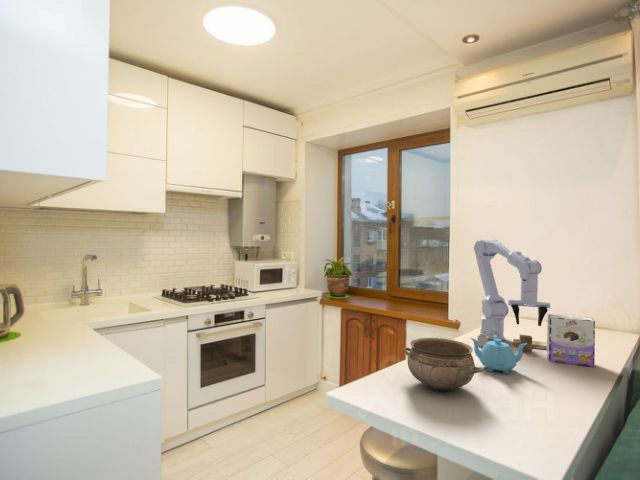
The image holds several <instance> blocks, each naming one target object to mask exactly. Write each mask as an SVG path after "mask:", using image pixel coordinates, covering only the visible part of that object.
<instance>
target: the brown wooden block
mask: <svg viewBox="0 0 640 480" xmlns="http://www.w3.org/2000/svg"><path fill="white" fill-rule="evenodd" d="M519 339H520V342H519V346H520V345H521V344H525V343H527V344H526V345H525V346H524V347H523V350H522V353H526V354H527V353H528V354H533V348H532V341H533V337H532V335H526V334H519Z"/></svg>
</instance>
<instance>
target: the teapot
mask: <svg viewBox="0 0 640 480" xmlns="http://www.w3.org/2000/svg"><path fill="white" fill-rule="evenodd" d="M470 339H471V340H472V341H473V345H474V346H473V348H474V349H473V351H474V354H475V356H476V357H477V358H478V359H479V362H480V363H481V364H482V365H483V366H484V367H485V368H487V369H486V371H487V372H490V373H492V372H494V370H495V371H502V373H503V374H506V375H510V374H511V373H510V371H511V370H514V368H515V367H516V366H517V363H518V362H520V361H521V360H522V358H523V352H522V350H523V347H524V346H525V345H526V344H527V343H525V344H521V345H520V346H519V347H517V348H518V349H517V352H516V353H514V351H513V350H512V347H511V346H510V345H509V344H508V343H506V342H503V340H500V339H497V336H496V335H495V334H494V335H493V339H492V340H491V341H490V340H489V342H487V343H486V344H485V345H484V347H481V348H482V349H481V350H480V348H479V346H478V342H477V338H476V339H475V338H473V337H470Z"/></svg>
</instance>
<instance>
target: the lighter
mask: <svg viewBox="0 0 640 480" xmlns="http://www.w3.org/2000/svg"><path fill="white" fill-rule="evenodd" d="M496 332H497V330H495V329H492V331H491V333H490V334H489V336H486V334H483V333H479V334H478V335H477V338H476V340H477V342H478V347H480V348H483V347H484V345H485V344H486V343H487V342H489V341H490V340H493V339H492V338H493V335H494V334H495V333H496Z"/></svg>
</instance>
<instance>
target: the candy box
mask: <svg viewBox="0 0 640 480" xmlns="http://www.w3.org/2000/svg"><path fill="white" fill-rule="evenodd" d="M546 333H547V334H546V335H547V336H546V341H547V350H546V358H547V361H548V362H551V363H560V364H567V365H575V366H584V367H592V368H594V367H595V361H596V360H595V359H596V358H595V349H596V347H595V345H596V343H595V340H596V337H595V336H596V320H595V319H594V318H593V317H587V316H586V317H585V316H584V317H583V316H575V315H573V316H572V315H565V314H564V315H563V314H550V313H549V314H547V332H546Z"/></svg>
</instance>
